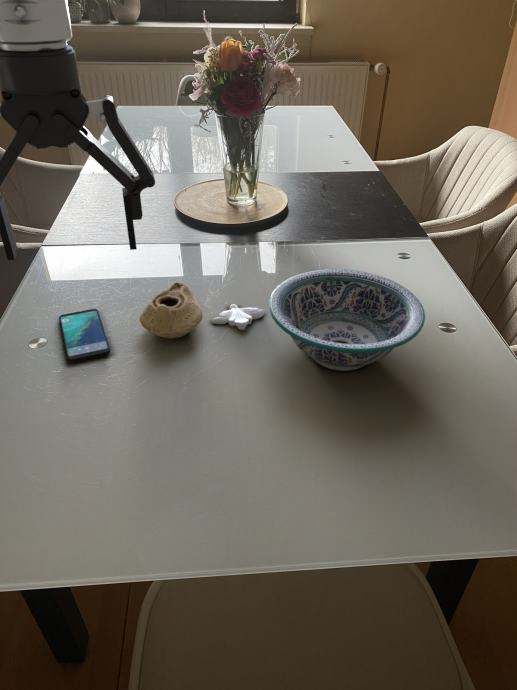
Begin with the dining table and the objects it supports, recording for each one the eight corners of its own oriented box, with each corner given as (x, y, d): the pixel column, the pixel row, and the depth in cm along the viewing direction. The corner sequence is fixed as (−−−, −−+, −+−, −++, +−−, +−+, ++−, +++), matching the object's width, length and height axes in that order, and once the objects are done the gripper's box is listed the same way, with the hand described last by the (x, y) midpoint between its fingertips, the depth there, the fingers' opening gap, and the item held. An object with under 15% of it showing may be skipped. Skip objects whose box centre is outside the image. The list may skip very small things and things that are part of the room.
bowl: (359, 423, 78) (368, 372, 73) (237, 353, 92) (237, 305, 86) (441, 350, 93) (453, 303, 88) (325, 299, 107) (330, 255, 101)
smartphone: (67, 360, 88) (58, 314, 99) (68, 364, 88) (58, 318, 100) (111, 351, 90) (97, 307, 101) (111, 355, 91) (97, 310, 102)
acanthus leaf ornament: (264, 315, 102) (264, 307, 101) (248, 333, 97) (248, 325, 96) (229, 305, 104) (229, 297, 103) (212, 323, 99) (211, 314, 98)
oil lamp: (202, 303, 105) (200, 267, 100) (203, 348, 93) (201, 309, 88) (145, 306, 104) (141, 269, 99) (139, 351, 92) (133, 312, 87)
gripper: (-128, 52, 45) (-48, 274, 58) (168, 47, 50) (183, 254, 63) (-101, 41, 51) (-34, 245, 64) (161, 38, 56) (176, 228, 69)
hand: (74, 250), depth 63 cm, fingers open, 13 cm apart
